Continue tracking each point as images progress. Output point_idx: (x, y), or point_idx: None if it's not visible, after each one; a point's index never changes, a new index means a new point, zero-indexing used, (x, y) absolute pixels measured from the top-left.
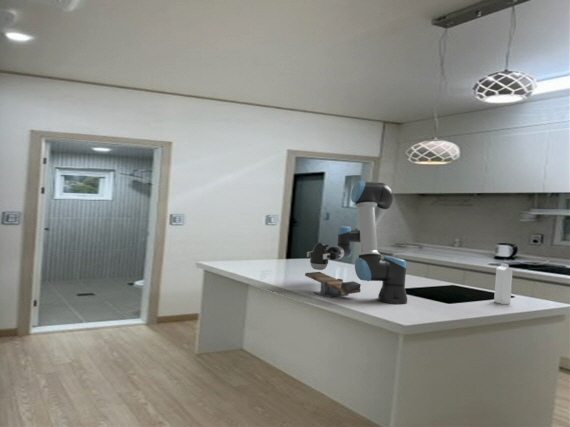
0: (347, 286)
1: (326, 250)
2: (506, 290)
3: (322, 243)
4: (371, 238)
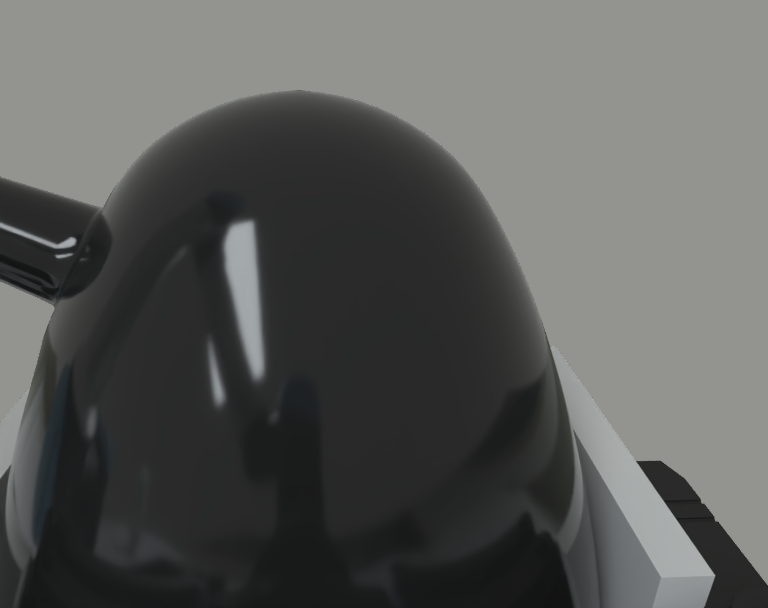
0: None
1: (16, 441)
2: None
3: (177, 126)
4: None
